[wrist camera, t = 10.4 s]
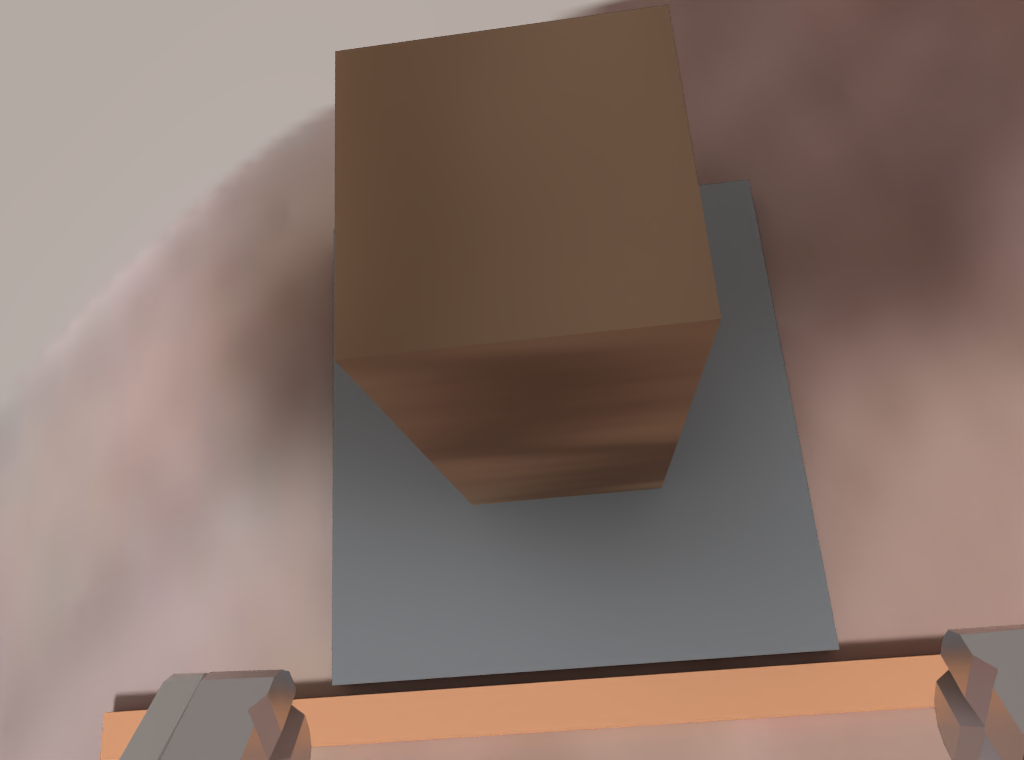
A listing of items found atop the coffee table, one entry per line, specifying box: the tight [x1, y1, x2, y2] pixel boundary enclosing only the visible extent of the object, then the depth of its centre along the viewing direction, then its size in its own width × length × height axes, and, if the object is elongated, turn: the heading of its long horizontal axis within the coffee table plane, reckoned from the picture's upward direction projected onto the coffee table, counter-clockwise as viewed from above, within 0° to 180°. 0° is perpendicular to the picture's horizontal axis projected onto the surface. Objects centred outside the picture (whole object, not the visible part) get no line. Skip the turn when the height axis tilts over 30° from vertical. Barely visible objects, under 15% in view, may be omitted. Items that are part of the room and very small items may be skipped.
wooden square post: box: [334, 5, 721, 505], centre depth 14 cm, size 4×4×10 cm
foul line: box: [100, 654, 949, 760], centre depth 17 cm, size 22×1×1 cm, turn 94°
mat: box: [332, 180, 839, 686], centre depth 19 cm, size 11×12×1 cm
